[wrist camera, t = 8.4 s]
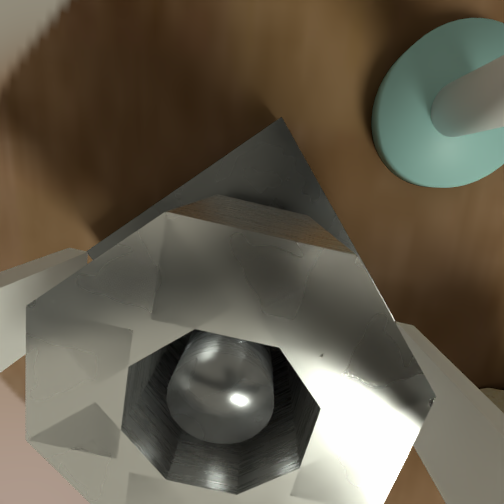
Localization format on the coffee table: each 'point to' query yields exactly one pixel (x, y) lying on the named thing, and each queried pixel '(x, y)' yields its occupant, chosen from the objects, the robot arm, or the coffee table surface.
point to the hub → (220, 346)
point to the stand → (444, 106)
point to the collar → (233, 325)
